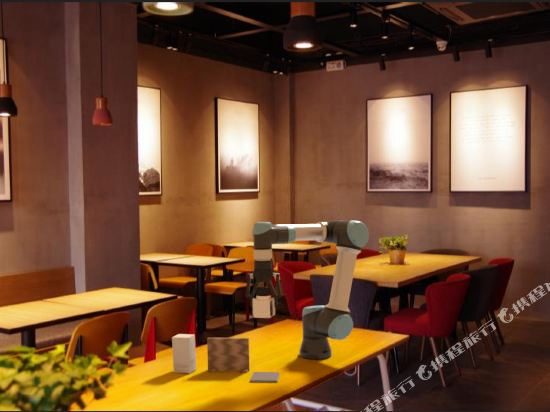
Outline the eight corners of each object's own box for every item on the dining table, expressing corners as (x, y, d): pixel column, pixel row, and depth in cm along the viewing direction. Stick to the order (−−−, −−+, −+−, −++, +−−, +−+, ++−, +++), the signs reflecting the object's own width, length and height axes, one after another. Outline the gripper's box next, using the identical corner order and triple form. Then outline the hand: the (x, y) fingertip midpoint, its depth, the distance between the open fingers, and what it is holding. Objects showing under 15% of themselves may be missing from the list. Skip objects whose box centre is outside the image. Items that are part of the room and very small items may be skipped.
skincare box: (196, 369, 260) (196, 334, 260) (189, 374, 254) (189, 337, 253) (179, 368, 263) (178, 333, 262) (172, 372, 256) (171, 336, 256)
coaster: (279, 374, 252) (279, 372, 252) (277, 382, 241) (277, 380, 241) (253, 373, 253) (253, 371, 253) (250, 382, 242) (250, 380, 242)
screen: (250, 368, 261) (249, 336, 260) (248, 372, 255) (247, 340, 254) (209, 367, 262) (209, 336, 262) (206, 372, 256) (206, 339, 256)
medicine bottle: (270, 318, 242) (270, 288, 242) (253, 317, 243) (252, 288, 243) (274, 314, 249) (273, 286, 249) (257, 314, 250) (256, 285, 250)
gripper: (288, 258, 248) (289, 312, 249) (239, 258, 250) (240, 312, 251) (286, 260, 241) (287, 316, 242) (237, 260, 243) (238, 316, 243)
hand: (263, 314), depth 246 cm, fingers closed on medicine bottle, 7 cm apart
